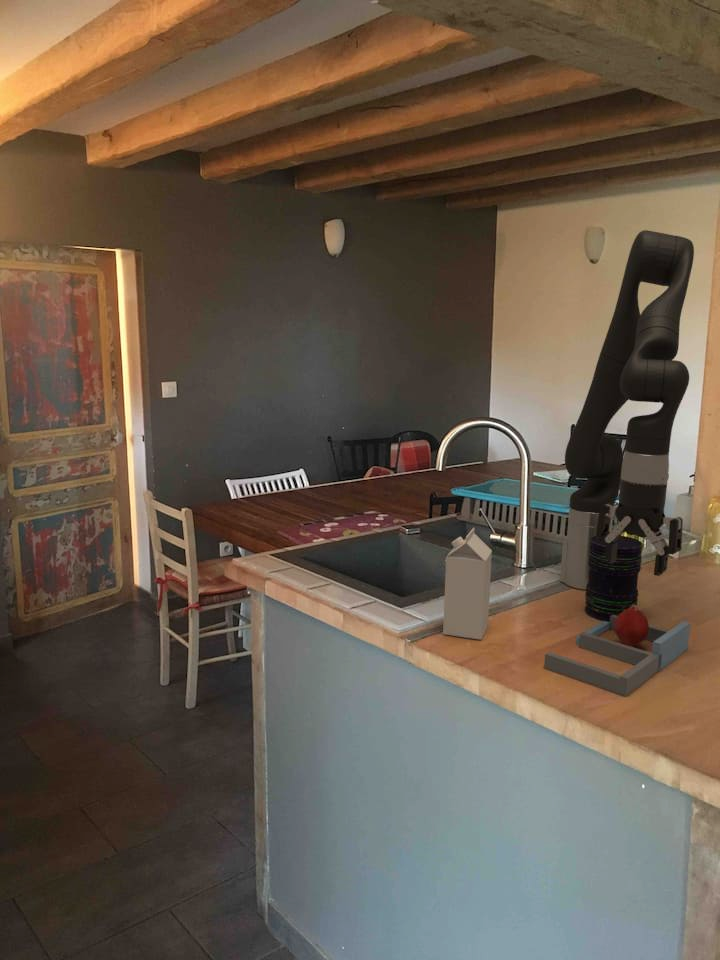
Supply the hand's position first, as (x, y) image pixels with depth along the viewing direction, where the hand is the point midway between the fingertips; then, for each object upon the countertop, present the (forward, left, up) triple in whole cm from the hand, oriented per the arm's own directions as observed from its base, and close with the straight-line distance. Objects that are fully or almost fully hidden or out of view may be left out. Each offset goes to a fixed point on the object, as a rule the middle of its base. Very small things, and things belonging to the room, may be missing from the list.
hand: (634, 568), depth 134 cm
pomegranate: (0, 0, -15) cm, 15 cm away
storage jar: (-10, +13, -15) cm, 22 cm away
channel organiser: (0, -6, -15) cm, 16 cm away
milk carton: (-25, -15, -15) cm, 32 cm away
